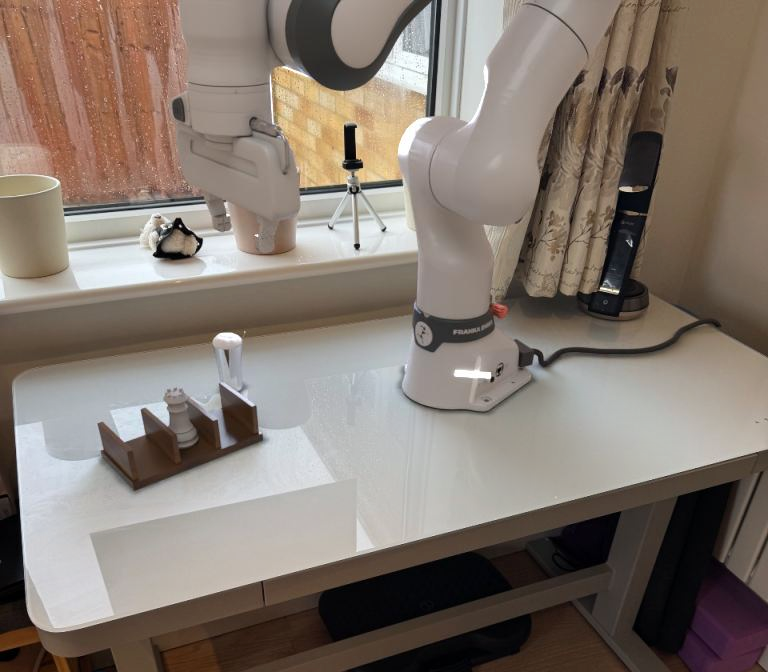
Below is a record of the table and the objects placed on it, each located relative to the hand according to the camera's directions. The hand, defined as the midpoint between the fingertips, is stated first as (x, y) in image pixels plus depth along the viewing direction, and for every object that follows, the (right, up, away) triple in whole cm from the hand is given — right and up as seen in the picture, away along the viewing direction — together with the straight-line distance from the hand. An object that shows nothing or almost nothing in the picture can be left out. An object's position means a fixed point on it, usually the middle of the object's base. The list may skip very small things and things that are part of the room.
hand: (242, 240), depth 89 cm
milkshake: (-7, -13, +31) cm, 34 cm away
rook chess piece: (-11, -23, +16) cm, 30 cm away
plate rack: (-11, -24, +17) cm, 31 cm away
